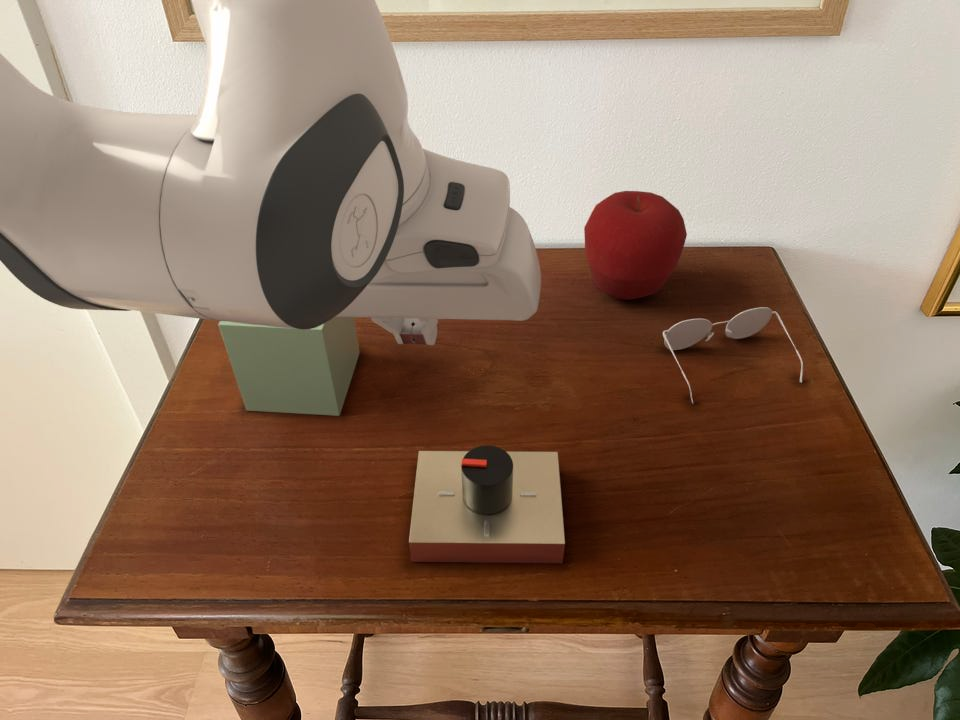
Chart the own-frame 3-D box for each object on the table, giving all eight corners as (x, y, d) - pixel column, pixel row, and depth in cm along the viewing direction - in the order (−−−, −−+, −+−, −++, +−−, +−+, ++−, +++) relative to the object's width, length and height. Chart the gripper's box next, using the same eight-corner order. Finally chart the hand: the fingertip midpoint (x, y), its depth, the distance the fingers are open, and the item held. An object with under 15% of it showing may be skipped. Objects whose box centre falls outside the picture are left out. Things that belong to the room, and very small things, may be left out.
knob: (513, 475, 65) (514, 444, 62) (510, 516, 62) (511, 485, 59) (465, 472, 66) (464, 441, 63) (459, 512, 62) (458, 481, 59)
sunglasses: (764, 333, 84) (780, 303, 80) (801, 389, 79) (819, 361, 75) (654, 353, 82) (664, 323, 78) (684, 412, 77) (696, 384, 73)
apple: (611, 331, 85) (625, 233, 76) (560, 278, 93) (567, 184, 84) (693, 303, 89) (716, 207, 80) (638, 255, 97) (653, 162, 88)
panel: (562, 563, 62) (565, 542, 60) (411, 562, 62) (408, 541, 60) (555, 472, 69) (557, 450, 67) (420, 470, 70) (418, 449, 68)
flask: (339, 416, 75) (318, 310, 66) (246, 410, 76) (211, 305, 67) (359, 352, 83) (343, 248, 73) (274, 348, 83) (246, 245, 74)
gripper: (200, 249, 46) (284, 367, 57) (521, 248, 41) (542, 376, 53) (233, 178, 49) (306, 303, 60) (532, 171, 45) (550, 307, 56)
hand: (418, 337), depth 57 cm, fingers closed
